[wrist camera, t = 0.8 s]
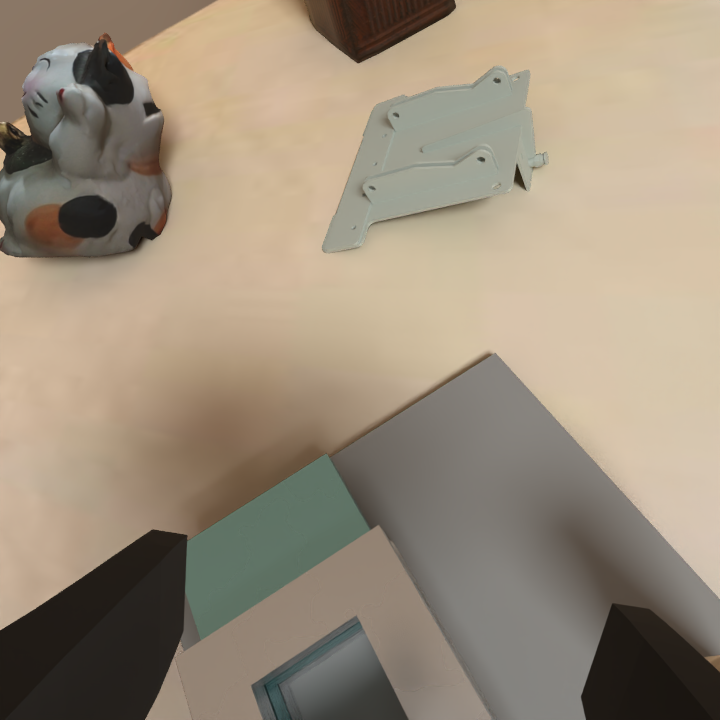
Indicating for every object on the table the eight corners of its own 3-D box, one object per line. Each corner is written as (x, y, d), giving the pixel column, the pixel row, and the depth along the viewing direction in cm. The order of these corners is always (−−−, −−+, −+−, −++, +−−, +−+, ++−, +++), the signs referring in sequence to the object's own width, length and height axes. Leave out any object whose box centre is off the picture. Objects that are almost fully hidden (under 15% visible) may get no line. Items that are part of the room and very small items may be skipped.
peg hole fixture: (559, 824, 18) (572, 858, 14) (333, 990, 17) (291, 1065, 14) (349, 466, 26) (327, 435, 23) (191, 567, 25) (144, 550, 22)
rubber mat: (945, 857, 16) (959, 862, 15) (388, 1299, 14) (384, 1323, 14) (495, 358, 28) (495, 352, 27) (165, 567, 26) (158, 565, 26)
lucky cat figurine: (36, 198, 46) (-16, 9, 38) (179, 200, 49) (161, 25, 41) (-21, 280, 35) (-112, 35, 26) (171, 277, 38) (143, 54, 29)
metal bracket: (539, 19, 33) (513, 187, 26) (559, 98, 37) (540, 261, 31) (351, 92, 41) (293, 236, 34) (384, 151, 45) (339, 290, 38)
